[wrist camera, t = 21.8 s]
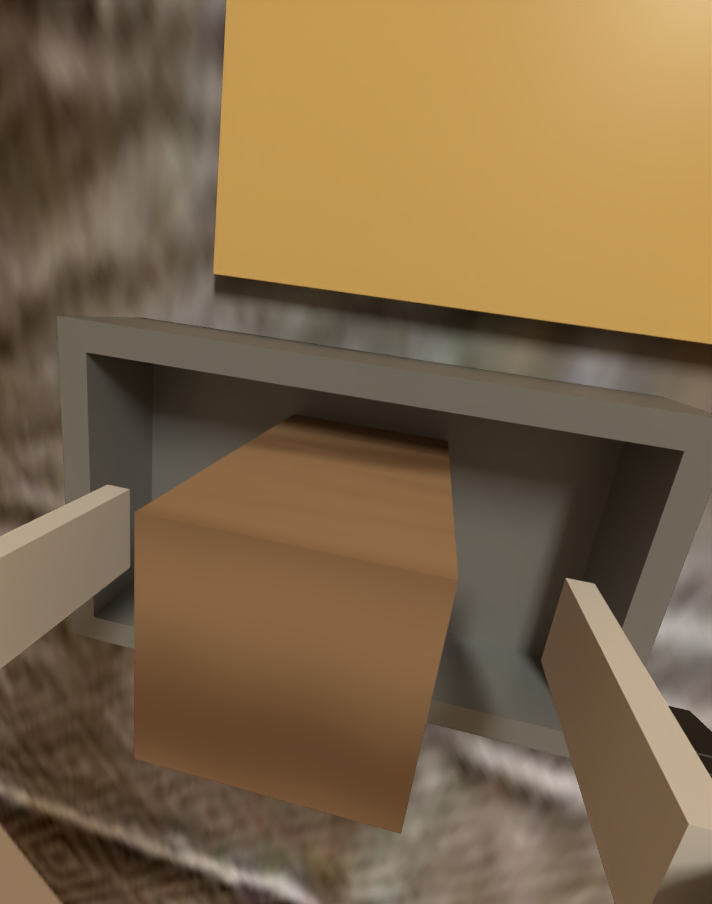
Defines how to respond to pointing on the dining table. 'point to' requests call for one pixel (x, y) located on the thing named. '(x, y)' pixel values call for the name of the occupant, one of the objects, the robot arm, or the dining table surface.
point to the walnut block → (297, 616)
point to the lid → (475, 156)
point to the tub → (471, 469)
